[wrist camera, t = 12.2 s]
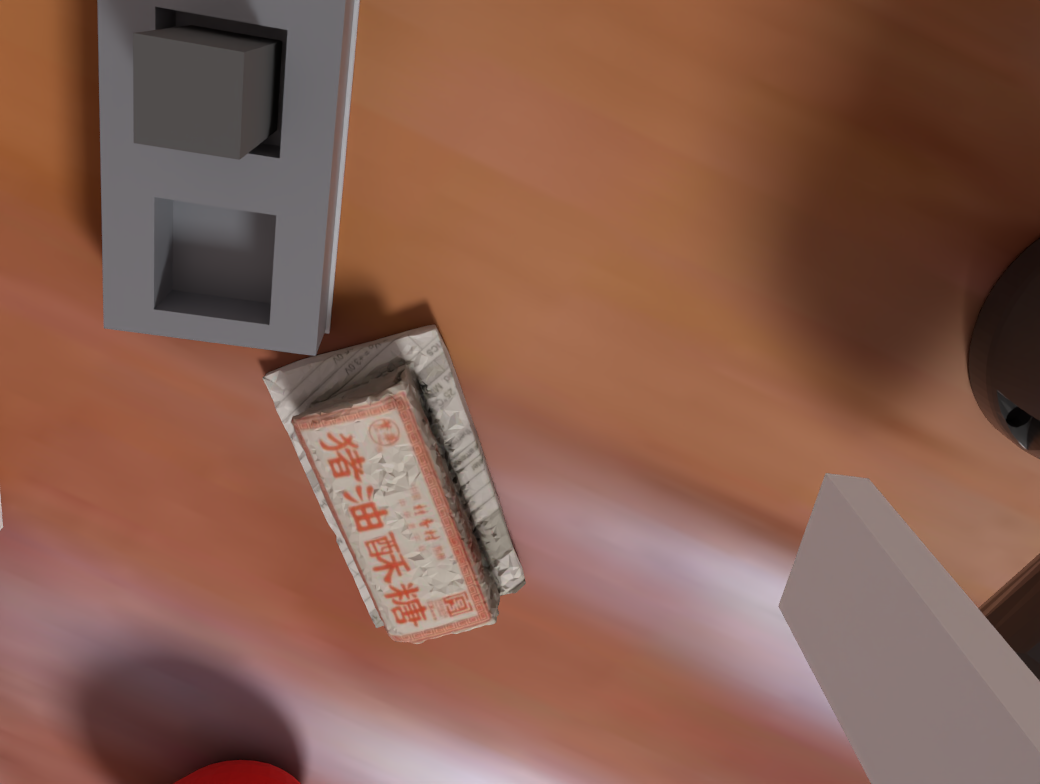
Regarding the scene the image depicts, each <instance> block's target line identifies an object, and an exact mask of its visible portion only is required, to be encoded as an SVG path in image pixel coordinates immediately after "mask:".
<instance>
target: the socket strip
mask: <svg viewBox="0 0 1040 784" xmlns="http://www.w3.org/2000/svg"><path fill="white" fill-rule="evenodd" d="M97 3H98V54H99V106H100V157H101V208H102V260H103V311H104V328H106V329H114V330H121V331H129V332H137V333H144V334H152V335H159V336H167V337H175V338H182V339H190V340H198V341H205V342H213V343H221V344H228V345H236V346H244V347H251V348H259V349H266V350H274V351H282V352H289V353H297V354H305V355H312V356H316V354H317V351H318V349H319V346H320V343H321V341H322V338H323V335H324V333H328V334H329V333H330V325H331V314H332V303H333V292H334V281H335V270H336V259H337V248H338V237H339V225H340V214H341V203H342V192H343V181H344V170H345V159H346V148H347V137H348V126H349V115H350V104H351V92H352V81H353V70H354V59H355V48H356V37H357V26H358V15H359V4H360V0H97ZM188 25H195V26H200V27H206V28H212V29H217V30H223V31H229V32H234V33H240V34H246V35H251V36H257V37H263V38H269V39H274V40H280V41H282V54H281V71H280V88H279V105H278V122H277V131H275V132H274V133H273V134H272V135H270V136H269V137H268V138H267V139H265V140H264V141H263V142H262V143H260V144H259V145H258V146H256V147H255V148H254V149H253V150H251V151H250V152H249V153H248V154H246V155H245V156H244V157H243V158H241V159H240V160H238V159H231V158H225V157H219V156H212V155H206V154H199V153H193V152H187V151H180V150H174V149H168V148H161V147H155V146H149V145H142V144H136V143H134V133H133V33H137V32H144V31H151V30H159V29H166V28H174V27H181V26H188Z"/></svg>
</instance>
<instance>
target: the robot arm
mask: <svg viewBox="0 0 1040 784" xmlns="http://www.w3.org/2000/svg"><path fill="white" fill-rule="evenodd" d="M969 375H970V382H971V387H972V390H973V394H974V397H975V399H976V401H977V404H978V406H979V408H980V409H981V411H982V413H983V414H984V416H985V417H986V418H987V419H988V421H989V422H990V423H991V424H992V425H993V426H994V427H995V428H996V429H997V430H998V431H1000V432H1001V433H1002V434H1003V435H1005V436H1006V437H1007V438H1008V439H1010V440H1011V441H1012V442H1013V443H1014V444H1016V445H1017V446H1018V447H1020V448H1021V449H1023V450H1024V451H1025V452H1027V453H1029V454H1031V455H1033V456H1035V457H1037V458H1039V459H1040V238H1039V239H1038V240H1037V241H1035V242H1034V243H1033V244H1032V245H1030V246H1029V247H1028V248H1027V249H1026V250H1025V251H1024V252H1023V253H1022V254H1021V255H1020V256H1019V257H1018V258H1017V259H1016V260H1015V261H1014V262H1013V263H1012V264H1011V265H1010V266H1009V267H1008V269H1007V270H1006V271H1005V272H1004V274H1003V275H1002V276H1001V277H1000V279H999V280H998V282H997V283H996V284H995V286H994V287H993V289H992V291H991V292H990V294H989V296H988V297H987V299H986V301H985V303H984V305H983V307H982V309H981V312H980V314H979V316H978V319H977V322H976V324H975V328H974V331H973V335H972V339H971V344H970V351H969ZM2 528H3V522H2V509H1V496H0V530H1V529H2ZM779 608H780V610H781V612H782V614H783V616H784V618H785V620H786V622H787V624H788V625H789V627H790V629H791V631H792V633H793V635H794V637H795V639H796V641H797V643H798V645H799V646H800V648H801V650H802V652H803V654H804V656H805V658H806V660H807V662H808V664H809V666H810V668H811V669H812V671H813V673H814V675H815V677H816V679H817V681H818V683H819V685H820V687H821V689H822V690H823V692H824V694H825V696H826V698H827V700H828V702H829V704H830V706H831V708H832V710H833V711H834V713H835V715H836V717H837V719H838V721H839V723H840V725H841V727H842V729H843V731H844V732H845V734H846V736H847V738H848V740H849V742H850V744H851V746H852V748H853V750H854V752H855V753H856V755H857V757H858V759H859V761H860V763H861V765H862V767H863V769H864V771H865V773H866V774H867V776H868V778H869V780H870V782H871V784H1040V554H1039V555H1038V556H1036V557H1035V558H1034V559H1033V560H1032V561H1031V562H1030V563H1029V564H1027V565H1026V566H1025V567H1024V568H1023V569H1022V570H1021V571H1020V572H1018V573H1017V574H1016V575H1015V576H1014V577H1013V578H1012V579H1011V580H1009V581H1008V582H1007V583H1006V584H1005V585H1004V586H1003V587H1002V588H1001V589H999V590H998V591H997V592H996V593H995V594H994V595H993V596H992V597H990V598H989V599H988V600H987V601H986V602H985V603H984V604H983V605H981V606H980V607H979V608H977V606H976V605H975V604H974V603H973V602H972V600H971V599H970V598H969V597H968V596H967V595H966V593H965V592H964V591H963V590H962V589H961V587H960V586H959V585H958V584H957V583H956V582H955V580H954V579H953V578H952V577H951V576H950V574H949V573H948V572H947V571H946V570H945V569H944V567H943V566H942V565H941V564H940V563H939V561H938V560H937V559H936V558H935V557H934V555H933V554H932V553H931V552H930V551H929V550H928V548H927V547H926V546H925V545H924V544H923V542H922V541H921V540H920V539H919V538H918V537H917V535H916V534H915V533H914V532H913V531H912V529H911V528H910V527H909V526H908V525H907V524H906V522H905V521H904V520H903V519H902V518H901V516H900V515H899V514H898V513H897V512H896V510H895V509H894V508H893V507H892V506H891V505H890V503H889V502H888V501H887V500H886V499H885V497H884V496H883V495H882V494H881V493H880V492H879V490H878V489H877V488H876V487H875V486H874V484H873V483H872V482H871V481H870V480H869V479H868V478H860V477H852V476H844V475H836V474H828V473H826V474H825V477H824V479H823V482H822V485H821V488H820V491H819V494H818V496H817V499H816V502H815V505H814V508H813V510H812V513H811V516H810V519H809V522H808V524H807V527H806V530H805V533H804V536H803V539H802V541H801V544H800V547H799V550H798V553H797V555H796V558H795V561H794V564H793V567H792V569H791V572H790V575H789V578H788V581H787V584H786V586H785V589H784V592H783V595H782V598H781V600H780V603H779Z"/></svg>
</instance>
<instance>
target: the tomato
mask: <svg viewBox="0 0 1040 784" xmlns="http://www.w3.org/2000/svg"><path fill="white" fill-rule="evenodd" d="M173 784H301V783H300V782H299V781H298V780H297V779H296V778H294V777H293V776H292V775H290V774H289V773H287V772H286V771H284V770H283V769H281V768H278V767H276V766H273V765H271V764H268V763H263V762H258V761H250V760H234V761H224V762H219V763H214V764H211V765H208V766H206V767H203V768H201V769H198V770H196V771H195V772H193V773H191V774H189V775H187V776H186V777H184V778H182V779H180V780H178V781H176V782H175V783H173Z"/></svg>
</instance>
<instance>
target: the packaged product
mask: <svg viewBox="0 0 1040 784" xmlns="http://www.w3.org/2000/svg"><path fill="white" fill-rule="evenodd" d="M263 380H264V382H265V384H266V386H267V388H268V390H269V392H270V395H271V397H272V399H273V401H274V404H275V408H276V410H277V412H278V414H279V416H280V419H281V421H282V423H283V425H284V427H285V429H286V430H287V432H288V434H289V436H290V439H291V441H292V443H293V445H294V448H295V450H296V452H297V455H298V457H299V459H300V462H301V464H302V466H303V468H304V471H305V473H306V475H307V477H308V480H309V482H310V484H311V486H312V489H313V491H314V493H315V495H316V497H317V499H318V501H319V504H320V507H321V509H322V511H323V513H324V516H325V518H326V520H327V522H328V524H329V525H330V527H331V528H332V530H333V531H334V532H335V534H336V535H337V543H338V545H339V547H340V550H341V552H342V554H343V556H344V559H345V561H346V563H347V565H348V567H349V569H350V571H351V573H352V575H353V577H354V580H355V582H356V585H357V587H358V589H359V591H360V594H361V596H362V598H363V601H364V603H365V605H366V607H367V609H368V612H369V614H370V616H371V618H372V620H373V622H374V624H375V626H376V628H378V627H380V626H384V628H385V629H386V631H387V633H388V635H389V636H390V637H391V638H392V640H394V641H396V642H411V643H414V644H420V643H423V642H424V641H425V640H427V639H435V638H438V637H441V636H443V635H448V634H452V633H453V634H458V633H460V632H463V631H470V630H471V629H474V628H477V627H481V626H484V625H491V624H495V623H496V620H497V616H498V614H499V612H498V609H497V608H498V605H499V602H500V596H501V595H505V594H509V593H516V592H517V591H518V590H519V589H520V588H522V587H523V586H524V585H525V584H526V582H525V578H524V574H523V569H522V566H521V564H520V562H519V559H518V557H517V555H516V552H515V550H514V548H513V545H512V542H511V539H510V536H509V532H508V529H507V526H506V522H505V519H504V516H503V512H502V509H501V506H500V502H499V499H498V496H497V494H496V491H495V488H494V485H493V481H492V478H491V475H490V472H489V469H488V466H487V463H486V459H485V456H484V453H483V450H482V447H481V444H480V441H479V438H478V435H477V432H476V429H475V426H474V423H473V421H472V418H471V415H470V412H469V409H468V406H467V403H466V400H465V397H464V394H463V392H462V389H461V386H460V383H459V380H458V377H457V375H456V372H455V369H454V366H453V363H452V360H451V358H450V355H449V352H448V350H447V348H446V346H445V344H444V342H443V339H442V337H441V335H440V333H439V331H438V329H437V327H436V325H429V326H424V327H420V328H416V329H413V330H409V331H405V332H402V333H398V334H395V335H391V336H388V337H384V338H381V339H377V340H375V341H371V342H367V343H363V344H359V345H355V346H351V347H347V348H343V349H340V350H336V351H332V352H328V353H324V354H321V355H317V356H313V357H309V358H306V359H302V360H299V361H296V362H294V363H291V364H289V365H286V366H283V367H281V368H278V369H276V370H273V371H271V372H268V373H267V374H266V375H265V376H264V377H263Z"/></svg>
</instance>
